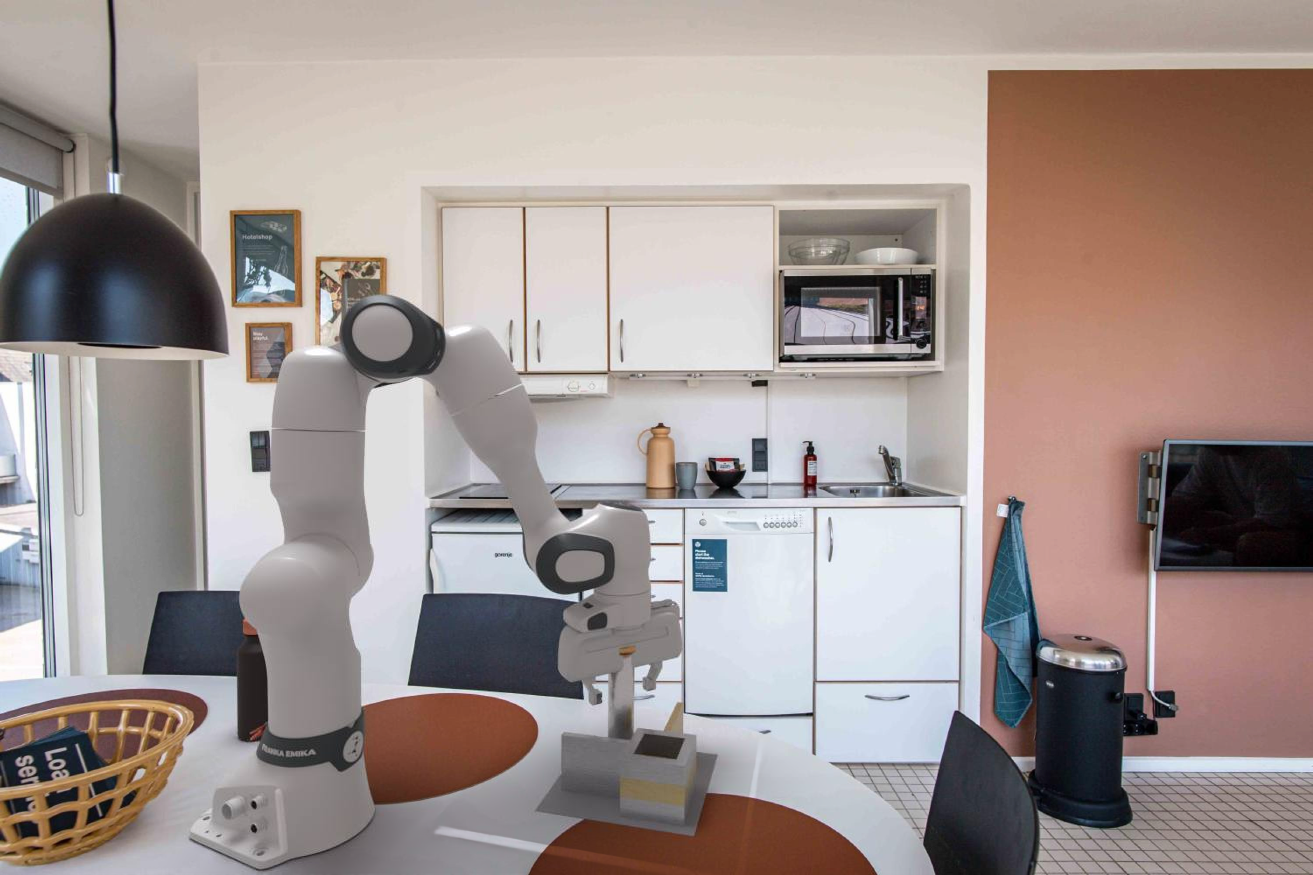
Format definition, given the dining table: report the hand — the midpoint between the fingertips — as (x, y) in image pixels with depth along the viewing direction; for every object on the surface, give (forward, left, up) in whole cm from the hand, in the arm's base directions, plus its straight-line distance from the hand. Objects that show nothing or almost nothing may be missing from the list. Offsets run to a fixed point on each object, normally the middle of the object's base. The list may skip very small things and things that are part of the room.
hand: (623, 696), depth 100 cm
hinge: (+3, -3, -11) cm, 12 cm away
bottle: (-64, -3, -12) cm, 65 cm away
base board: (+3, -4, -12) cm, 13 cm away
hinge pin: (0, 0, -11) cm, 11 cm away
